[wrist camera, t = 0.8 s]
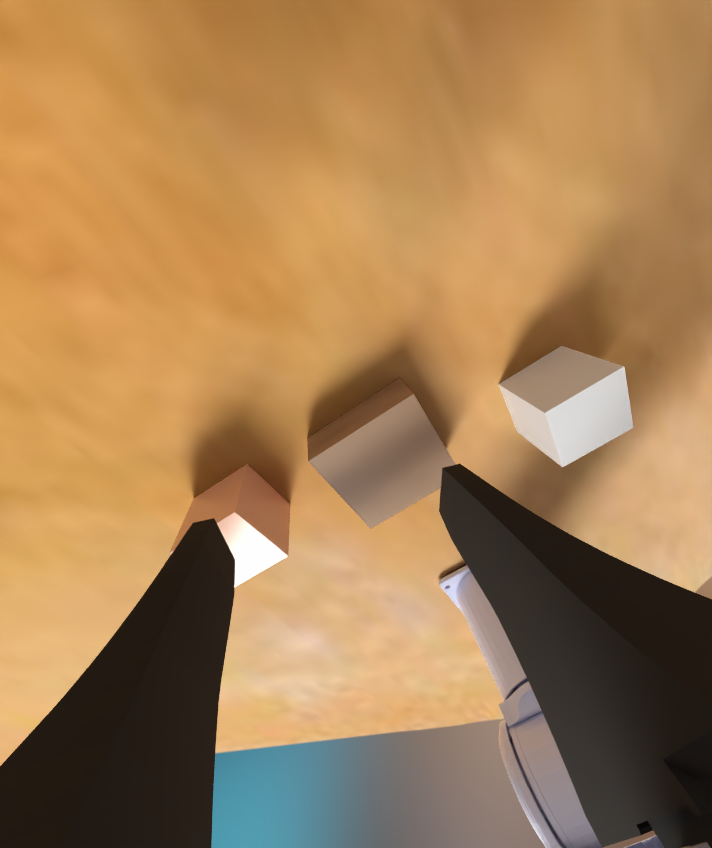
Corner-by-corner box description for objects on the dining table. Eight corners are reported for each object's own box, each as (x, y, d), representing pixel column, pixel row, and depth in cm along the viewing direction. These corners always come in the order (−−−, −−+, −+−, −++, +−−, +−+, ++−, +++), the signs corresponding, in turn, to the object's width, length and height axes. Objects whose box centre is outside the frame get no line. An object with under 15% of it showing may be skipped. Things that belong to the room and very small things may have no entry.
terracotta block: (290, 503, 22) (288, 556, 19) (240, 534, 23) (228, 590, 19) (247, 463, 20) (234, 512, 16) (194, 497, 21) (169, 552, 17)
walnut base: (443, 450, 23) (461, 475, 20) (362, 498, 24) (370, 528, 21) (398, 375, 19) (413, 393, 17) (307, 435, 20) (308, 461, 18)
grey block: (574, 398, 22) (633, 427, 18) (516, 431, 23) (562, 467, 19) (560, 345, 20) (624, 366, 16) (497, 383, 21) (544, 412, 17)
